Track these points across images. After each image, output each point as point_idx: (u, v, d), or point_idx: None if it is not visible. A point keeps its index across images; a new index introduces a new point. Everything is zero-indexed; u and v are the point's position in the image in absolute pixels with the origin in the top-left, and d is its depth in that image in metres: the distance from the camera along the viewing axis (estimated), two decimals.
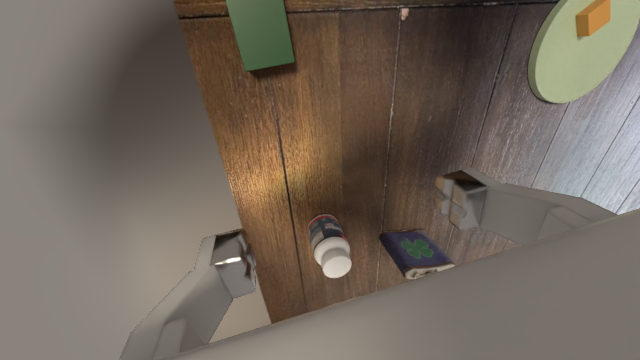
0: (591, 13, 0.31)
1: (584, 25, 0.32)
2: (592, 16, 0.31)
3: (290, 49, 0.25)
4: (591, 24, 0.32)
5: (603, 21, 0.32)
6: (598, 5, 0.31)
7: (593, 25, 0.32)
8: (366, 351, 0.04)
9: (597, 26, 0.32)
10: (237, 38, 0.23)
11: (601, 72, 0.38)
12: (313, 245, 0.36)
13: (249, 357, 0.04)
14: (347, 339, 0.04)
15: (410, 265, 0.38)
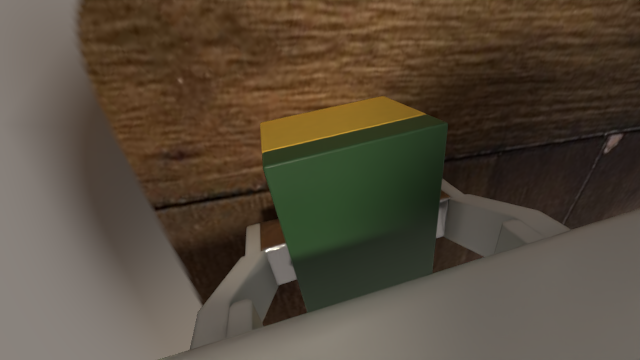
0: None
1: None
2: None
3: None
4: None
5: None
6: None
7: None
8: (366, 351, 0.04)
9: None
10: (306, 296, 0.09)
11: None
12: None
13: (249, 358, 0.04)
14: (347, 339, 0.04)
15: None
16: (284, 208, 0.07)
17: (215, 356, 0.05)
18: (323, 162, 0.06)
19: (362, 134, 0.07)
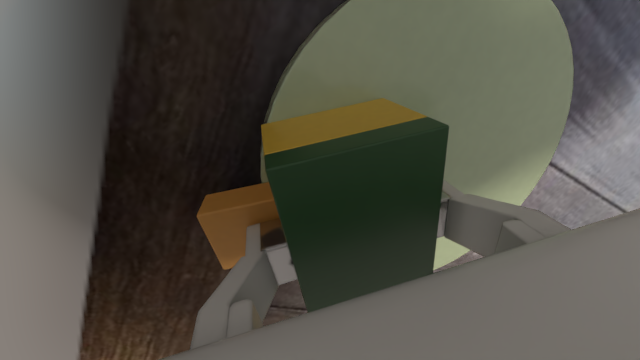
0: (224, 262, 0.10)
1: None
2: (234, 258, 0.10)
3: None
4: None
5: None
6: None
7: None
8: (366, 351, 0.04)
9: None
10: (307, 298, 0.09)
11: (543, 104, 0.12)
12: None
13: (249, 357, 0.04)
14: (347, 339, 0.04)
15: None
16: (286, 210, 0.07)
17: (215, 356, 0.05)
18: (325, 164, 0.06)
19: (364, 137, 0.07)
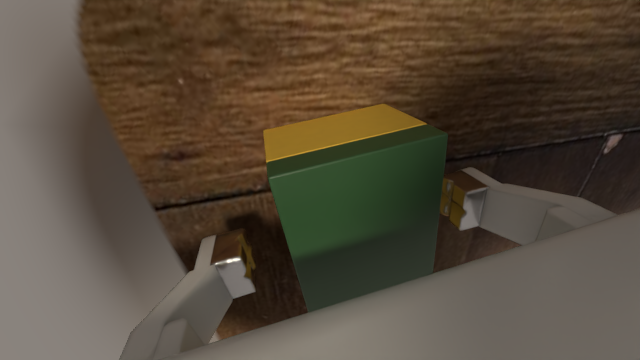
0: None
1: None
2: None
3: None
4: None
5: None
6: None
7: None
8: (366, 351, 0.04)
9: None
10: (309, 301, 0.09)
11: None
12: None
13: (249, 358, 0.04)
14: (347, 339, 0.04)
15: None
16: (288, 216, 0.07)
17: (215, 356, 0.05)
18: (326, 172, 0.07)
19: (365, 144, 0.07)
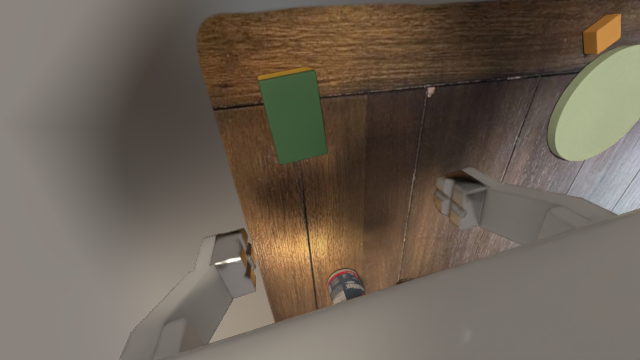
0: (600, 30, 0.29)
1: (592, 42, 0.30)
2: (601, 33, 0.29)
3: (324, 143, 0.25)
4: (600, 41, 0.30)
5: (612, 39, 0.30)
6: (608, 22, 0.29)
7: (602, 43, 0.30)
8: (366, 351, 0.04)
9: (606, 44, 0.30)
10: (274, 138, 0.24)
11: (619, 132, 0.38)
12: None
13: (249, 358, 0.04)
14: (347, 339, 0.04)
15: None
16: (265, 97, 0.22)
17: (215, 356, 0.05)
18: (276, 81, 0.21)
19: (289, 74, 0.22)
